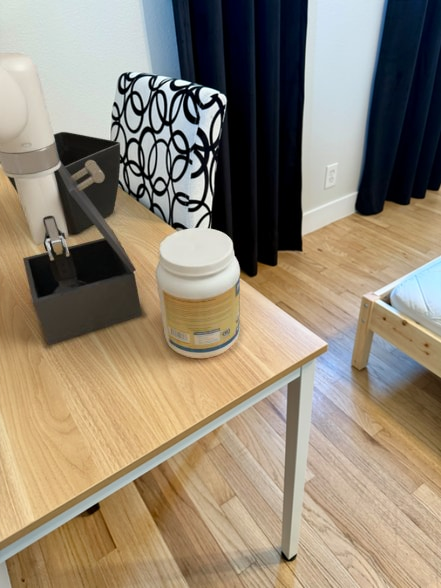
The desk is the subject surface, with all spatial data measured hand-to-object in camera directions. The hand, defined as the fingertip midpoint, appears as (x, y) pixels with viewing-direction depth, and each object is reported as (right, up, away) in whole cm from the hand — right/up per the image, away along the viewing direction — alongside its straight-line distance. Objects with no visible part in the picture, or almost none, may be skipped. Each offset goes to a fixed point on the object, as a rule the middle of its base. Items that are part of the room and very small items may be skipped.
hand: (60, 262), depth 69 cm
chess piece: (0, -7, +6) cm, 10 cm away
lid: (+6, +7, -2) cm, 9 cm away
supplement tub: (+23, -12, +1) cm, 26 cm away
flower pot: (-9, +13, +34) cm, 37 cm away
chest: (+2, -7, +7) cm, 10 cm away
